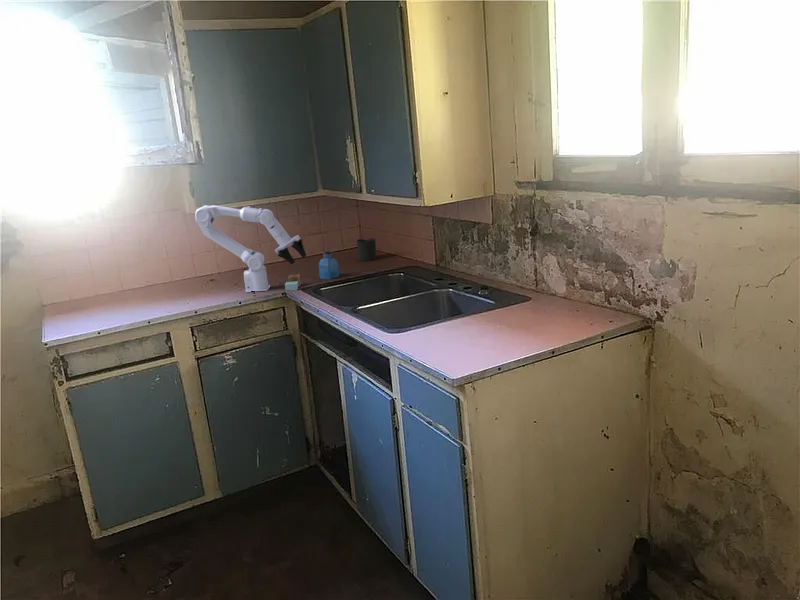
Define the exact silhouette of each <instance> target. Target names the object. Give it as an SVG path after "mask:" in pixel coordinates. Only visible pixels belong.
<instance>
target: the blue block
mask: <svg viewBox="0 0 800 600" xmlns="http://www.w3.org/2000/svg"><path fill="white" fill-rule="evenodd" d="M298 287H299V285H298V281H294V282H288V281H286V282H285V283H284V289H285V290H294V291H298V290H297V289H299V288H300V287H299V288H298Z"/></svg>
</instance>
